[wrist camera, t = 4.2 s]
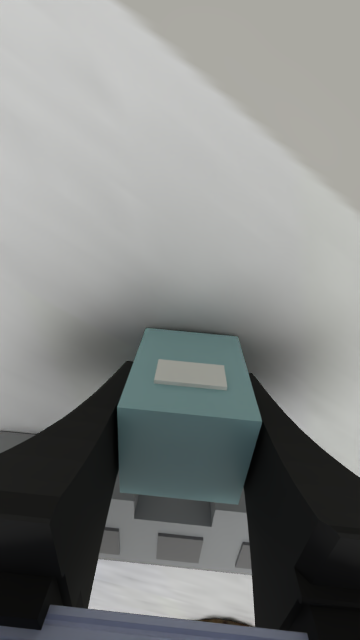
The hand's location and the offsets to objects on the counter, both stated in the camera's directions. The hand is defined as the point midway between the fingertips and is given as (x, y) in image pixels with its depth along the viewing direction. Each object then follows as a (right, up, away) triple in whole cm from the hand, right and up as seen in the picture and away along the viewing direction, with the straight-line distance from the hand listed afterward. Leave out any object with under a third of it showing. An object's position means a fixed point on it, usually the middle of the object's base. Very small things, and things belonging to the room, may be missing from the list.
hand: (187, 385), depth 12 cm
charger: (0, +1, +1) cm, 2 cm away
